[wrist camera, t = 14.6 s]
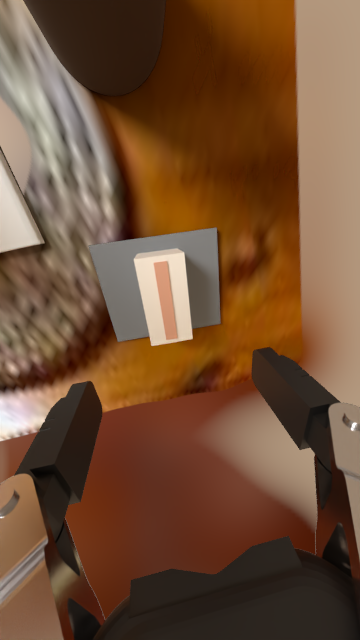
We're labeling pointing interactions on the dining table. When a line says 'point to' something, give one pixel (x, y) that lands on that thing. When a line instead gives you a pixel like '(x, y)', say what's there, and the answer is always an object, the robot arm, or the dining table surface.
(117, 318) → the mat
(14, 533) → the robot arm
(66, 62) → the olive oil
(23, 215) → the external hard drive
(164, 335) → the block
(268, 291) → the dining table surface
